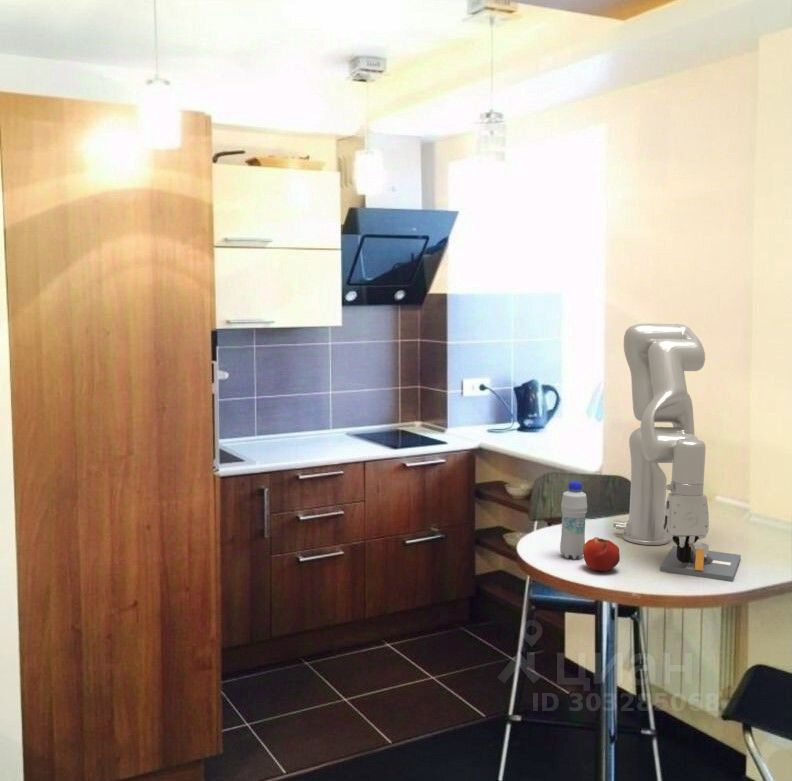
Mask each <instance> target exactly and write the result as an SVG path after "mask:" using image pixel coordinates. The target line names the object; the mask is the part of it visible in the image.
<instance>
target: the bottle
mask: <svg viewBox="0 0 792 781" xmlns="http://www.w3.org/2000/svg"><path fill="white" fill-rule="evenodd" d="M582 489H583V483H581V482H580V481H577V480H571V481H570V482H569V484H568V490H566V491H564V492H563V494H562V499H561V503H560V504H561V505H560V507H561V509H560V510H561V514H562V515H561V536H560V544H559V545H560V547H559V549H560V550H559V551H560V555H561V556H562V558H563V557H564V558H566V559H570V556H572V557H571V558H572V560H576V559H579V560H580V559H581V558H583V557H584V555H583V546H584V544H585V543H586V541H585V540H586V538H585V535H586V534H585V533H586V531H585V530H586V514H587V512H588V500H587V494H586V493H585V492H584V491H582Z"/></svg>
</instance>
